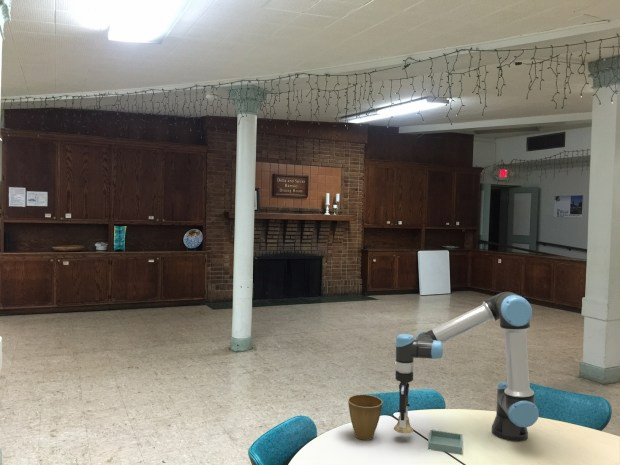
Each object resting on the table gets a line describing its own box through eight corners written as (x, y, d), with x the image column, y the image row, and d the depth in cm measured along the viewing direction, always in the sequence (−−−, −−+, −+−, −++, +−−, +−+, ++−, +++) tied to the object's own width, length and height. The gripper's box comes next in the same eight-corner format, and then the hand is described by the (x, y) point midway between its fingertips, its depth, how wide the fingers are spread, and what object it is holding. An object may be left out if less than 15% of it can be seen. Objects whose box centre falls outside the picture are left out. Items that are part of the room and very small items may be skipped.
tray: (462, 440, 220) (462, 434, 220) (462, 454, 207) (462, 447, 207) (429, 435, 224) (430, 429, 224) (427, 449, 211) (428, 442, 211)
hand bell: (412, 426, 224) (412, 390, 223) (414, 434, 215) (414, 396, 215) (393, 425, 224) (393, 389, 224) (394, 433, 216) (394, 395, 216)
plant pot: (340, 435, 223) (341, 399, 222) (363, 426, 232) (364, 392, 232) (365, 447, 211) (366, 409, 211) (388, 438, 221) (389, 401, 221)
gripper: (398, 364, 229) (397, 415, 230) (392, 376, 211) (391, 431, 212) (415, 365, 227) (414, 417, 228) (411, 378, 209) (410, 434, 210)
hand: (403, 424), depth 220 cm, fingers closed on hand bell, 6 cm apart
